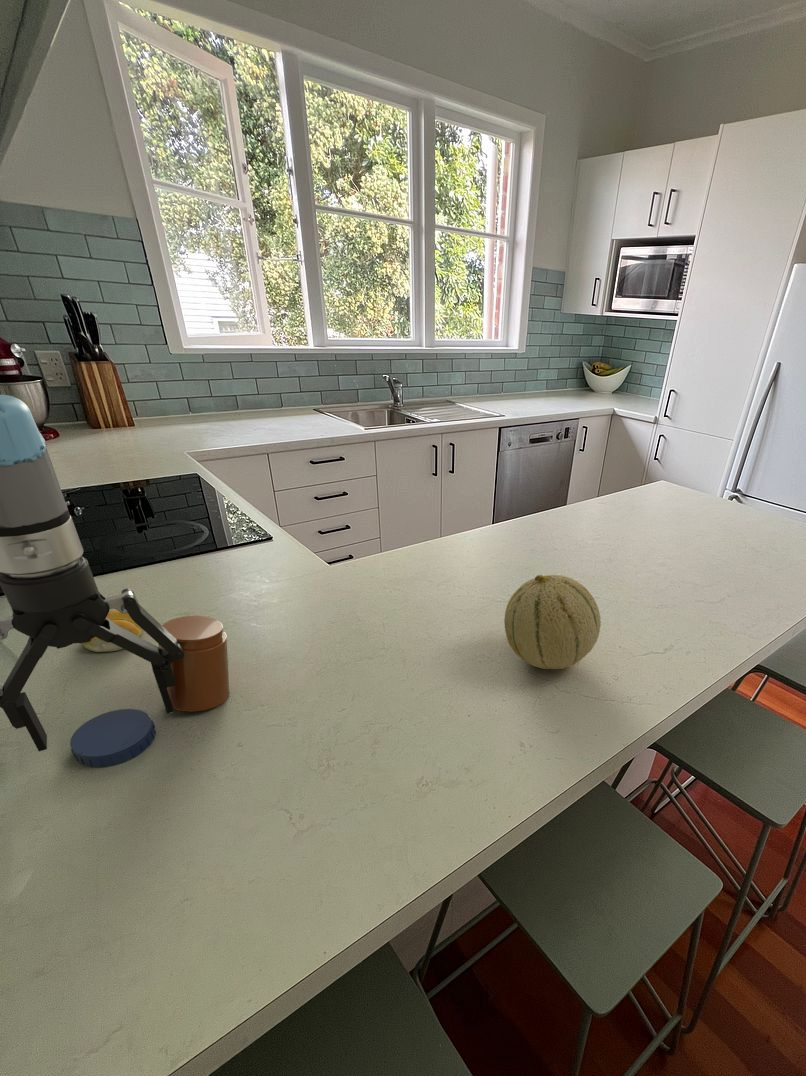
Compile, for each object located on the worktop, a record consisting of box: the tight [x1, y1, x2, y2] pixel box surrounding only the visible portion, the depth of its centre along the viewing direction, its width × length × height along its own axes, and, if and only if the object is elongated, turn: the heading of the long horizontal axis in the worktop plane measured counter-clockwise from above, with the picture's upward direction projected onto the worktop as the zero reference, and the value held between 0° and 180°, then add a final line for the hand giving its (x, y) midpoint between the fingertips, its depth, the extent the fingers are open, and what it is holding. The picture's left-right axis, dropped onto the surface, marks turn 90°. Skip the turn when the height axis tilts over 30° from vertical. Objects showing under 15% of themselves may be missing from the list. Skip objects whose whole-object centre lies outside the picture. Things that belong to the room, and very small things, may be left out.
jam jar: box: [157, 615, 230, 712], centre depth 73 cm, size 8×8×10 cm
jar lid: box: [69, 708, 157, 768], centre depth 67 cm, size 9×9×2 cm
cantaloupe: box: [503, 574, 602, 670], centre depth 84 cm, size 15×15×15 cm
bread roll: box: [81, 609, 144, 653], centre depth 86 cm, size 8×9×4 cm
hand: (109, 724), depth 66 cm, fingers open, 12 cm apart
